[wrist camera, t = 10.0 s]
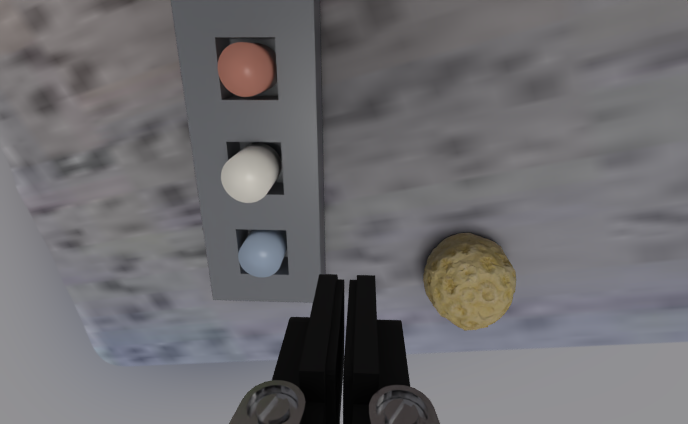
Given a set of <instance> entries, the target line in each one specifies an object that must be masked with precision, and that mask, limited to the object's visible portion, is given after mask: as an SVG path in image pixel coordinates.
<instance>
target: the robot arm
mask: <svg viewBox="0 0 688 424" xmlns="http://www.w3.org/2000/svg"><path fill="white" fill-rule="evenodd" d="M343 367H344V373H343ZM343 376H344V377H343ZM342 381H343V424H440V423H439V420H438V417H437V414H436V412H435V409H434V407H433V405H432V403H431V401H430V400H429V399H428V398H427V397H426V396H425V395H424V394H423V393H422V392H420V391H418V390H416V389H415V388H412V387H410V382H409V374H408V366H407V359H406V351H405V344H404V336H403V329H402V322H401V320H377V312H376V287H375V276H369V275H357V280H350V284H349V298H348V313H347V327H346V341H345V356H344V280H339V279H338V277H337V275H332V274H319V277H318V282H317V286H316V291H315V296H314V301H313V306H312V310H311V315H310V318H309V317H291V318H290V319H289V322H288V326H287V329H286V333H285V336H284V340H283V343H282V347H281V350H280V354H279V357H278V361H277V365H276V368H275V371H274V375H273V378H272V381H268V382H264V383H262V384H259V385H257V386H255V387H254V388H252V389H251V390H250V391H249V392H248V393H247V394H246V395H245V396H244V398H243V399H242V401H241V403H240V405H239V407H238V408H237V410H236V412H235V414H234V416H233V417H232V419H231V421H230V423H229V424H340V410H341V395H342Z"/></svg>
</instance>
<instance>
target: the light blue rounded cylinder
mask: <svg viewBox="0 0 688 424" xmlns="http://www.w3.org/2000/svg"><path fill="white" fill-rule="evenodd" d="M286 250H287V235H286V230H252V231H251V232H250V234H249V235H248V237H247V238H246V240H245V242H244V243H243V245H242V246H241V248H240V250H239V253H238V259H239V263H240V265H241V267H242V268H243V269H244V270H245V271H246V272H247V273H249V274H250V275H252V276H255V277H269V276H271V275H273V274H275V273H276V272H277V271H278V269H279V268H280V265H281V263H282V260H283V258H284V255H285V253H286Z"/></svg>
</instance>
